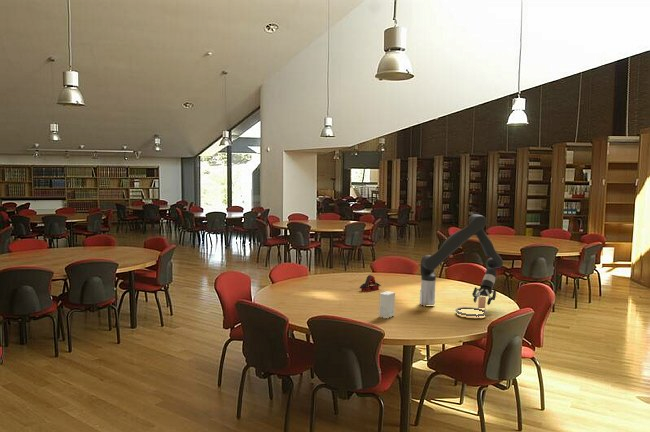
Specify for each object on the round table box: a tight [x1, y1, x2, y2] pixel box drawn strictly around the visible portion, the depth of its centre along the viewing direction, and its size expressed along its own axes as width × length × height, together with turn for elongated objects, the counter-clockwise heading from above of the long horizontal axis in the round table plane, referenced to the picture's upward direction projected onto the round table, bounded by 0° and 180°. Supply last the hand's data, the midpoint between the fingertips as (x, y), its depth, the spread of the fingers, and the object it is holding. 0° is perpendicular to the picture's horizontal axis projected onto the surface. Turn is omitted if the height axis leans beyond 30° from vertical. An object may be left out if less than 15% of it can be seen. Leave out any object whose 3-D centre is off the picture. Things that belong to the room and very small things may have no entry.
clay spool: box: [477, 296, 487, 309], centre depth 328 cm, size 4×4×8 cm
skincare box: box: [378, 290, 396, 319], centre depth 308 cm, size 8×6×15 cm
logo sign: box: [359, 274, 382, 292], centre depth 378 cm, size 18×4×11 cm, turn 124°
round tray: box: [455, 306, 488, 317], centre depth 317 cm, size 18×18×3 cm
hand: (481, 303), depth 327 cm, fingers open, 8 cm apart
